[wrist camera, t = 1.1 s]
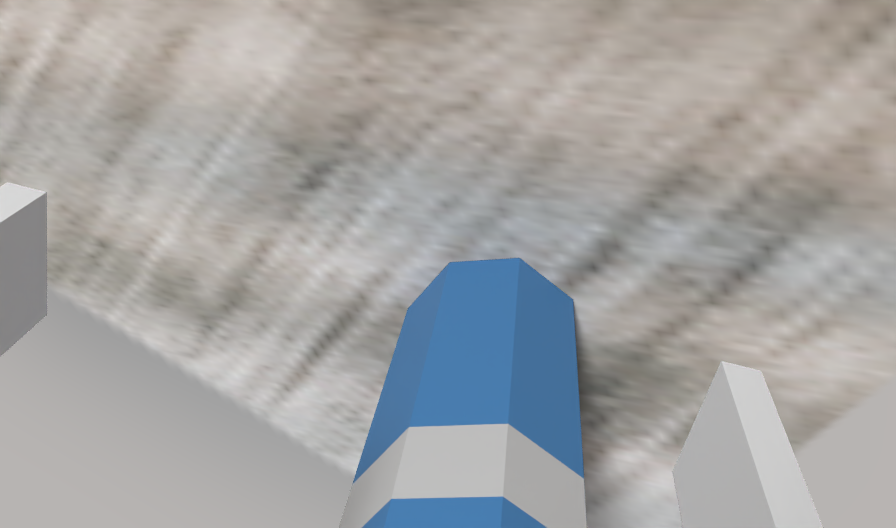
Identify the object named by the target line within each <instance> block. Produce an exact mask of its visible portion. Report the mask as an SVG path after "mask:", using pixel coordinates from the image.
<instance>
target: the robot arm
mask: <svg viewBox="0 0 896 528" xmlns="http://www.w3.org/2000/svg"><path fill="white" fill-rule="evenodd" d="M46 315H47V192H44V191H40V190H36V189H32V188H28V187H24V186H20V185H16V184H12V183H8V182H7V183H6V184H4V185H2V186H1V187H0V356H1V355H2V354H4V353H5V352H6V351H7V350H8V349H9V348H10V347H11V346H13V345H14V344H15V343H16V342H17V341H18V340H19V339H20V338H21V337H23V336H24V335H25V334H26V333H27V332H28V331H29V330H30V329H32V328H33V327H34V326H35V325H36V324H37V323H38V322H39V321H40V320H41V319H43V318H44V317H45V316H46ZM672 472H673V478H674V483H675V488H676V493H677V499H678V504H679V509H680V515H681V520H682V525H683V528H823V526H822V523H821V521H820V518H819V516H818V513H817V511H816V509H815V506H814V503H813V500H812V498H811V495H810V493H809V490H808V488H807V485H806V483H805V480H804V478H803V475H802V473H801V470H800V468H799V465H798V463H797V460H796V458H795V455H794V453H793V450H792V448H791V445H790V443H789V440H788V438H787V435H786V432H785V430H784V427H783V425H782V422H781V420H780V417H779V415H778V412H777V410H776V407H775V405H774V402H773V400H772V397H771V395H770V392H769V390H768V387H767V385H766V382H765V380H764V377H763V375H762V372H761V371H760V370H756V369H752V368H748V367H744V366H740V365H736V364H732V363H728V362H724V361H721V363H720V365H719V367H718V370H717V372H716V374H715V376H714V379H713V381H712V383H711V385H710V388H709V390H708V392H707V395H706V397H705V399H704V401H703V404H702V406H701V408H700V410H699V413H698V415H697V417H696V419H695V422H694V424H693V426H692V428H691V431H690V433H689V435H688V437H687V440H686V442H685V444H684V446H683V449H682V451H681V453H680V455H679V458H678V460H677V462H676V465H675V467H674V469H673V471H672Z"/></svg>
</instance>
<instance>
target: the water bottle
mask: <svg viewBox="0 0 896 528" xmlns="http://www.w3.org/2000/svg"><path fill="white" fill-rule="evenodd" d="M339 528H587V518H586V502H585V485H584V469H583V453H582V436H581V420H580V403H579V387H578V371H577V355H576V339H575V323H574V307H573V299H572V298H570V297H569V296H568V295H566V294H565V293H564V292H563V291H561V290H560V289H559V288H557V287H556V286H555V285H554V284H552V283H551V282H550V281H549V280H547V279H546V278H545V277H543V276H542V275H541V274H540V273H538V272H537V271H536V270H534V269H533V268H532V267H531V266H529V265H528V264H527V263H525V262H524V261H523V260H522V259H520V258H512V259H496V260H480V261H464V262H450V263H449V264H448V265H447V266H446V267H445V268H444V269H443V270H442V271H441V273H440V274H439V275H438V276H437V277H436V278H435V279H434V280H433V281H432V283H431V284H430V285H429V286H428V287H427V288H426V289H425V290H424V291H423V293H422V294H421V295H420V296H419V297H418V298H417V299H416V300H415V301H414V303H413V304H412V305H411V306H410V307H409V308H408V310H407V313H406V316H405V320H404V323H403V326H402V329H401V332H400V335H399V339H398V342H397V345H396V348H395V351H394V354H393V358H392V361H391V364H390V367H389V370H388V373H387V377H386V380H385V383H384V386H383V389H382V392H381V396H380V399H379V402H378V405H377V408H376V411H375V414H374V418H373V421H372V424H371V427H370V430H369V433H368V437H367V440H366V443H365V446H364V449H363V452H362V456H361V459H360V462H359V465H358V468H357V471H356V475H355V478H354V481H353V484H352V487H351V490H350V494H349V497H348V500H347V503H346V506H345V509H344V513H343V516H342V519H341V522H340V525H339Z"/></svg>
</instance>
